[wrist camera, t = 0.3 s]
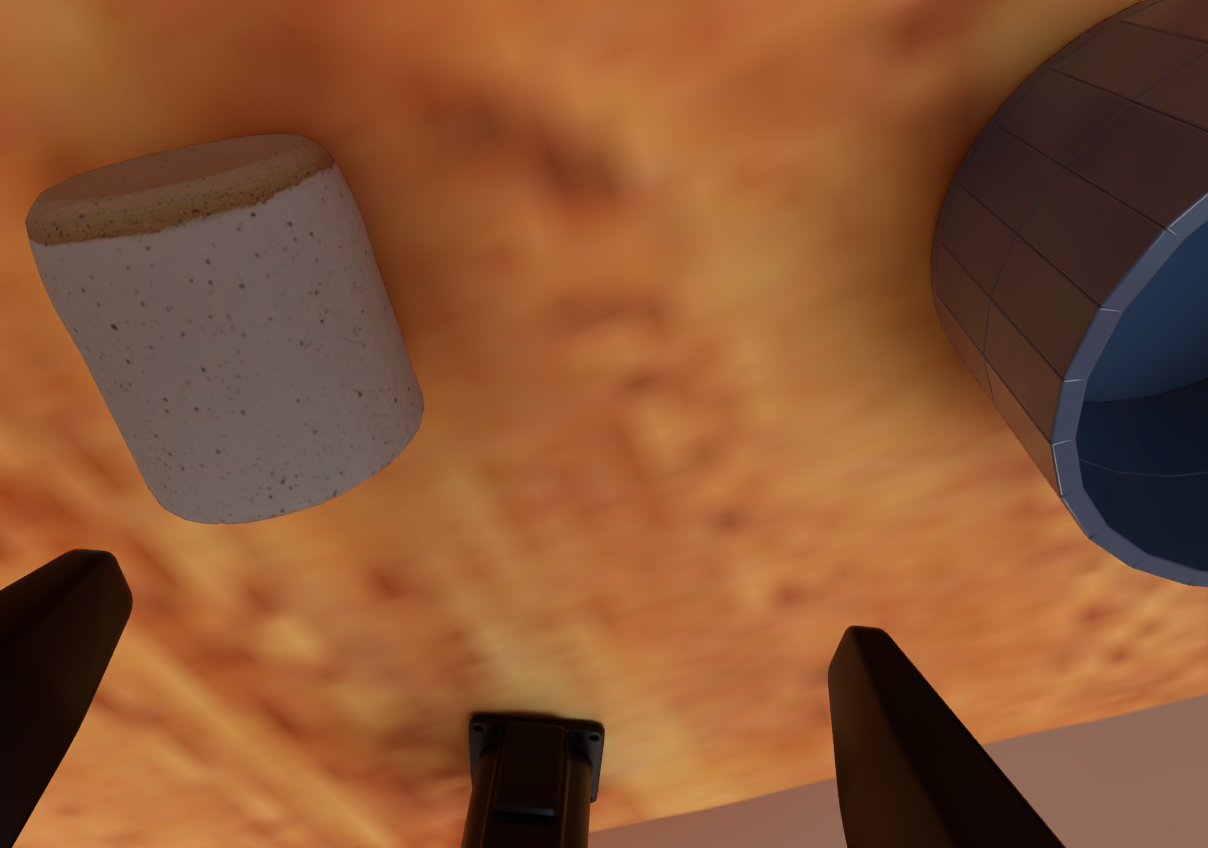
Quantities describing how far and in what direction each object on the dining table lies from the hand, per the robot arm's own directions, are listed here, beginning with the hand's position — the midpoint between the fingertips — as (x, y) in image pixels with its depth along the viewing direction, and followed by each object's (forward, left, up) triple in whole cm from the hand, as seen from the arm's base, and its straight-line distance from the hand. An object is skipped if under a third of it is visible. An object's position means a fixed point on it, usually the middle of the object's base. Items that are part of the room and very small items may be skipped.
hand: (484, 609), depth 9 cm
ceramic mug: (-3, +10, -15) cm, 18 cm away
